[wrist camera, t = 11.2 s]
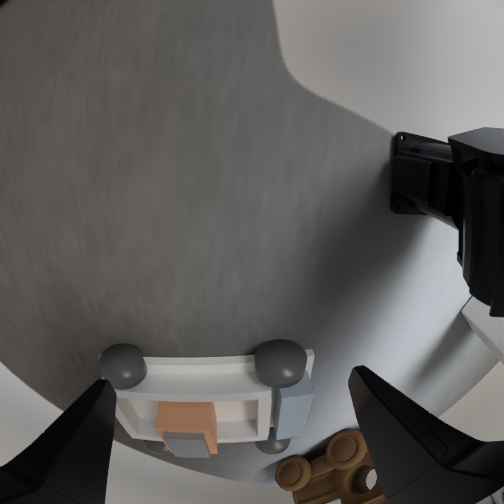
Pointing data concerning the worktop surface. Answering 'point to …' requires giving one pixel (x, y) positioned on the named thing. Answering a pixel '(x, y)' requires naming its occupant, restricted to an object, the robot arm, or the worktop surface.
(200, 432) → the tan box grey panel
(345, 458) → the wooden toy train
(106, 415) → the robot arm
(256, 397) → the chassis
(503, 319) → the milk carton
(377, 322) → the worktop surface
